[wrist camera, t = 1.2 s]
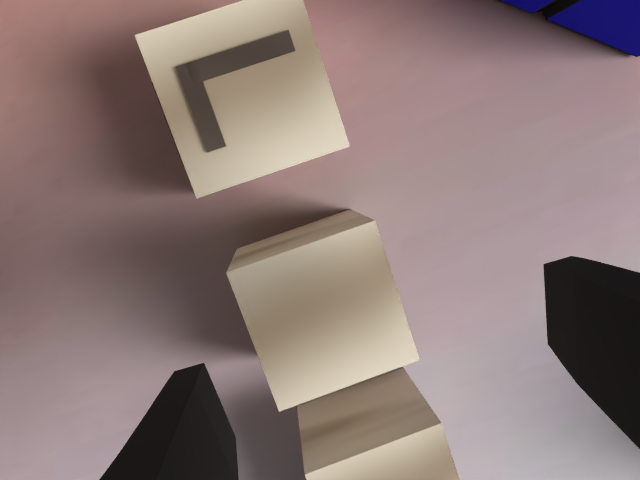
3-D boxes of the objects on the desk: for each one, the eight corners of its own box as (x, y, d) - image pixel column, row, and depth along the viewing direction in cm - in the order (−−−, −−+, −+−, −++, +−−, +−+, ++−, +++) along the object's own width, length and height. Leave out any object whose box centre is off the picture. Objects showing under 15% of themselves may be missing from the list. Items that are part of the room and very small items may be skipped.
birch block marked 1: (433, 462, 22) (481, 546, 17) (329, 502, 22) (346, 599, 17) (402, 366, 22) (443, 424, 16) (293, 406, 21) (300, 478, 16)
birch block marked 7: (330, 153, 20) (350, 146, 15) (211, 193, 20) (190, 200, 15) (290, 31, 19) (297, -19, 14) (166, 72, 19) (128, 35, 14)
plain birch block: (384, 316, 21) (419, 360, 16) (277, 355, 21) (278, 411, 16) (349, 208, 20) (374, 220, 15) (237, 248, 20) (225, 272, 15)
